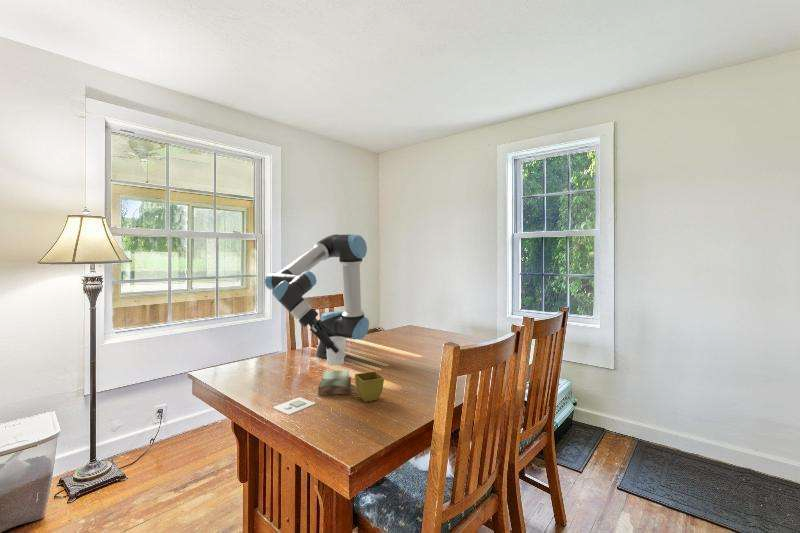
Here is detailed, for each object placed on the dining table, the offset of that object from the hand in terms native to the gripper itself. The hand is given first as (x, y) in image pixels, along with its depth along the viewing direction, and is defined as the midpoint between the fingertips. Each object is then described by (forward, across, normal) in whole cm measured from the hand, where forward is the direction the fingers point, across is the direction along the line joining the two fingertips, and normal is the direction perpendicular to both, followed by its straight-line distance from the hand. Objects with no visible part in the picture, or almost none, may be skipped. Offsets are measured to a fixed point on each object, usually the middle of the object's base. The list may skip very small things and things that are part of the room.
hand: (344, 354), depth 148 cm
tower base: (+8, 0, -12) cm, 15 cm away
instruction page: (-1, +16, -22) cm, 27 cm away
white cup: (0, 0, -5) cm, 5 cm away
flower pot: (+18, +10, -3) cm, 20 cm away
